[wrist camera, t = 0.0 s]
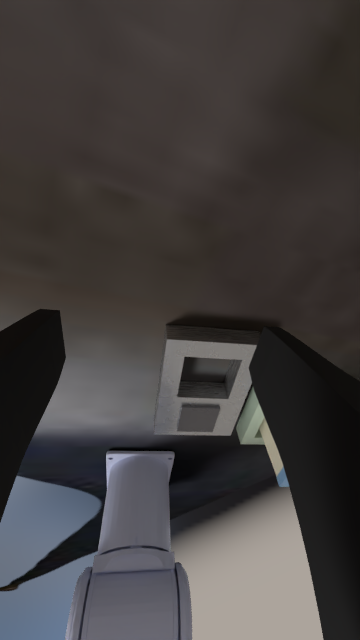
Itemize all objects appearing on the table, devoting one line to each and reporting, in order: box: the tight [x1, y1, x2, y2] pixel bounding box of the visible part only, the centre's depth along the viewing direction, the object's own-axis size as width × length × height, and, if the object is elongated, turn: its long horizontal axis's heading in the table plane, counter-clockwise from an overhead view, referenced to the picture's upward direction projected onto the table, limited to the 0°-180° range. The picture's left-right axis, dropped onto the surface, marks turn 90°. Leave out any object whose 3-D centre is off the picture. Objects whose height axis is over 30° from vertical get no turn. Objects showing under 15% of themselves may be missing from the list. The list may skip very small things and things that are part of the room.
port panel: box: [154, 324, 261, 436], centre depth 24 cm, size 12×8×2 cm, turn 172°
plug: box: [259, 417, 289, 487], centre depth 25 cm, size 4×4×7 cm
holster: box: [236, 387, 265, 444], centre depth 27 cm, size 7×7×2 cm
